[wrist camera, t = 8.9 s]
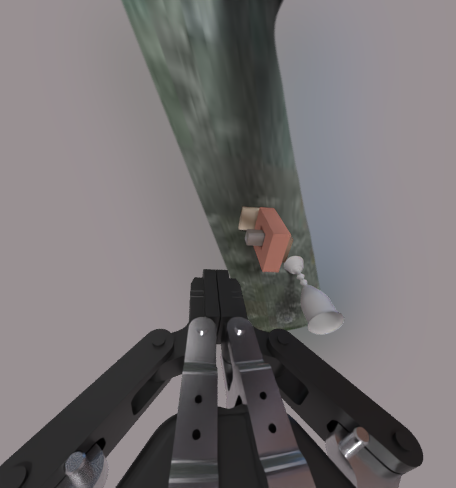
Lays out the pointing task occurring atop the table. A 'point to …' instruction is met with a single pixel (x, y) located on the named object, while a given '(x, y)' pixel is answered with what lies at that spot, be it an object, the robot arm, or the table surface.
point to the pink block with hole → (271, 239)
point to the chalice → (315, 302)
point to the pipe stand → (252, 235)
